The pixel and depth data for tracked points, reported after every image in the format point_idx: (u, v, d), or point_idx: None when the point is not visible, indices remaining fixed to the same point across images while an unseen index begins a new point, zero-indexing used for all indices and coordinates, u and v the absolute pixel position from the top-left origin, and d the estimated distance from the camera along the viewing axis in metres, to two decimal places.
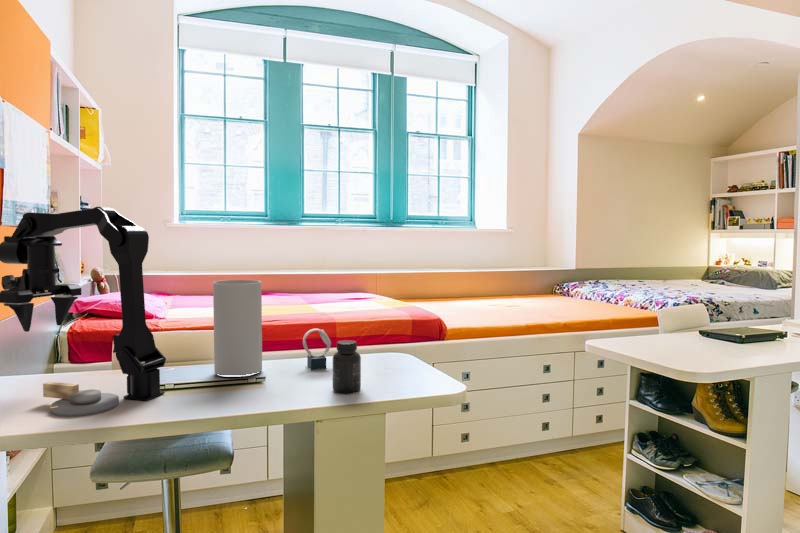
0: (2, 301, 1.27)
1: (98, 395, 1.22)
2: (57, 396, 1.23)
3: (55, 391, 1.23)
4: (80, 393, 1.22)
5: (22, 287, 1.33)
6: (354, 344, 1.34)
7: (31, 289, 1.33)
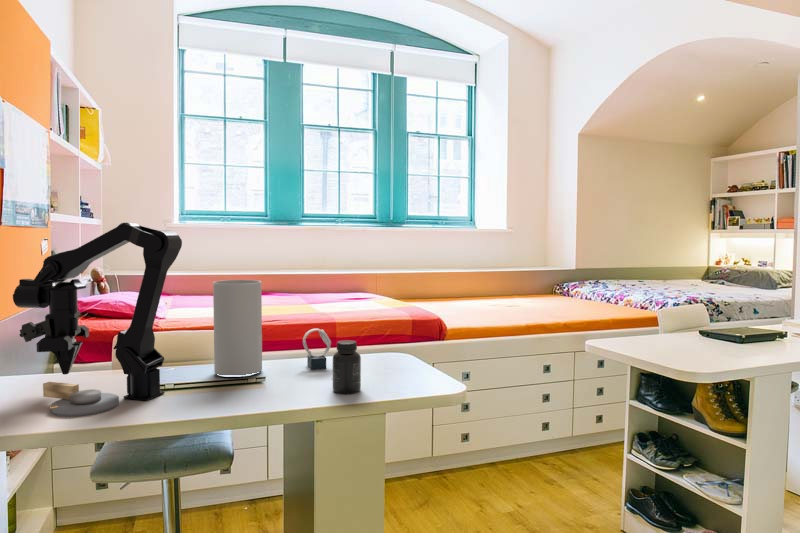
0: (45, 350, 1.22)
1: (98, 395, 1.22)
2: (57, 396, 1.23)
3: (55, 391, 1.23)
4: (80, 393, 1.22)
5: (47, 333, 1.27)
6: (354, 344, 1.34)
7: (60, 335, 1.28)
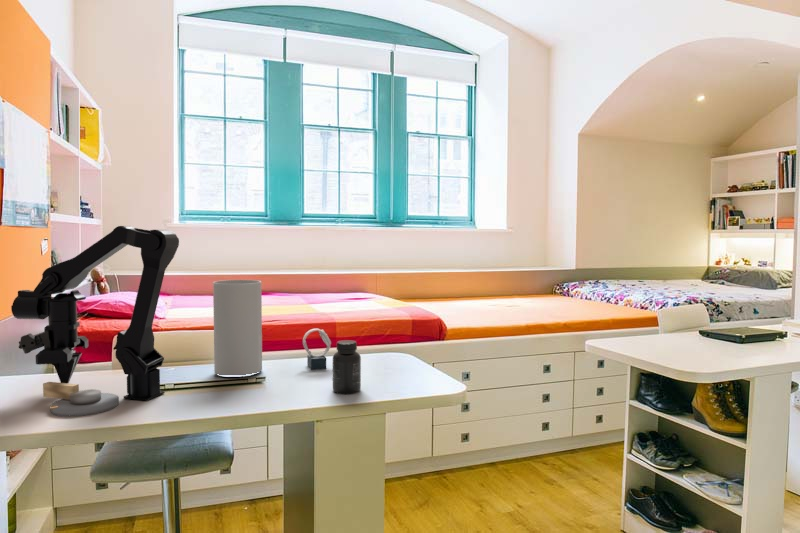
0: (44, 362, 1.21)
1: (98, 395, 1.22)
2: (57, 396, 1.23)
3: (55, 391, 1.23)
4: (80, 393, 1.22)
5: (46, 345, 1.27)
6: (354, 344, 1.34)
7: (59, 346, 1.28)
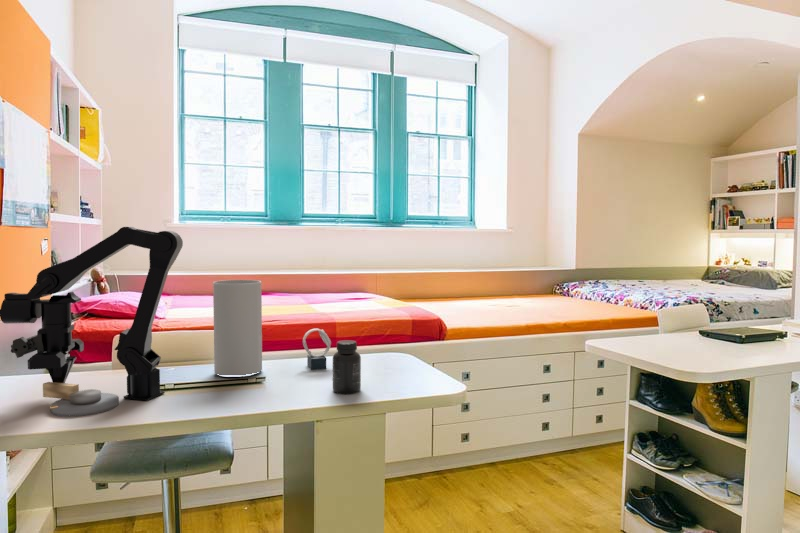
0: (36, 367, 1.17)
1: (98, 395, 1.22)
2: (57, 396, 1.23)
3: (55, 391, 1.23)
4: (80, 393, 1.22)
5: (39, 349, 1.23)
6: (354, 344, 1.34)
7: (52, 350, 1.24)
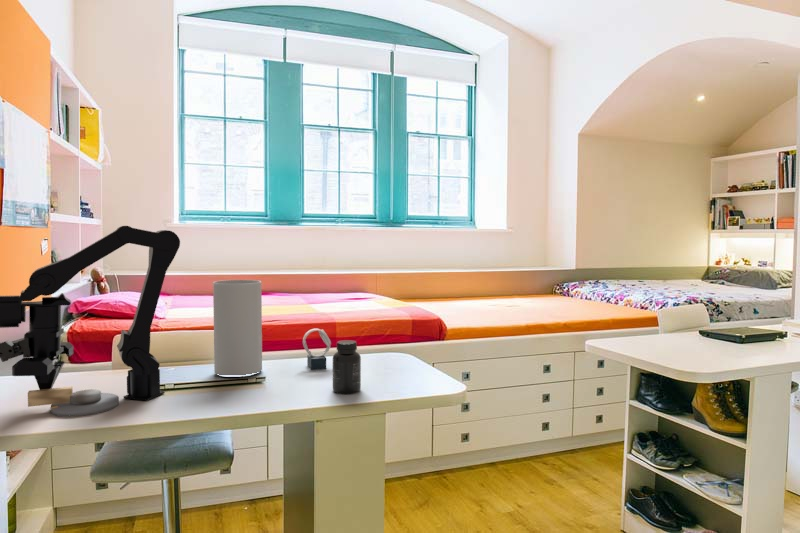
0: (21, 374, 1.11)
1: (100, 392, 1.24)
2: (49, 402, 1.19)
3: (46, 397, 1.18)
4: (80, 394, 1.22)
5: (25, 354, 1.16)
6: (354, 344, 1.34)
7: (39, 355, 1.17)
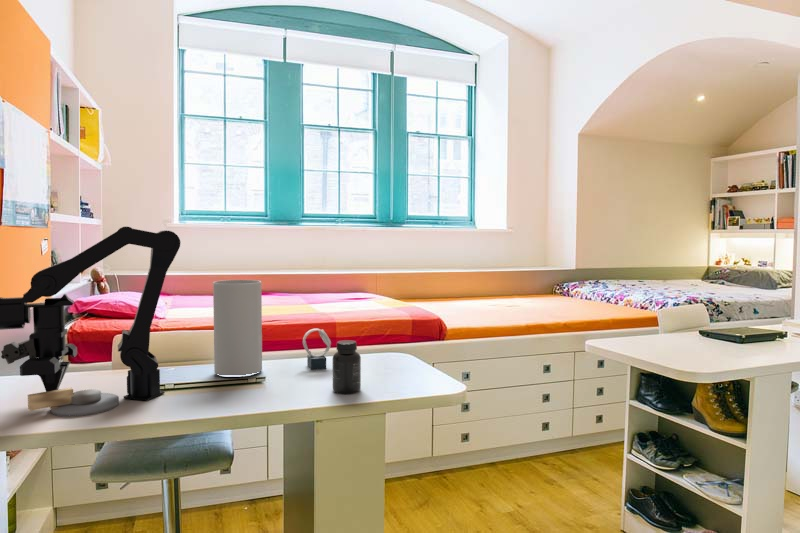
0: (29, 373, 1.12)
1: None
2: (51, 404, 1.17)
3: (48, 400, 1.17)
4: (81, 394, 1.21)
5: (31, 354, 1.18)
6: (354, 344, 1.34)
7: (45, 356, 1.19)
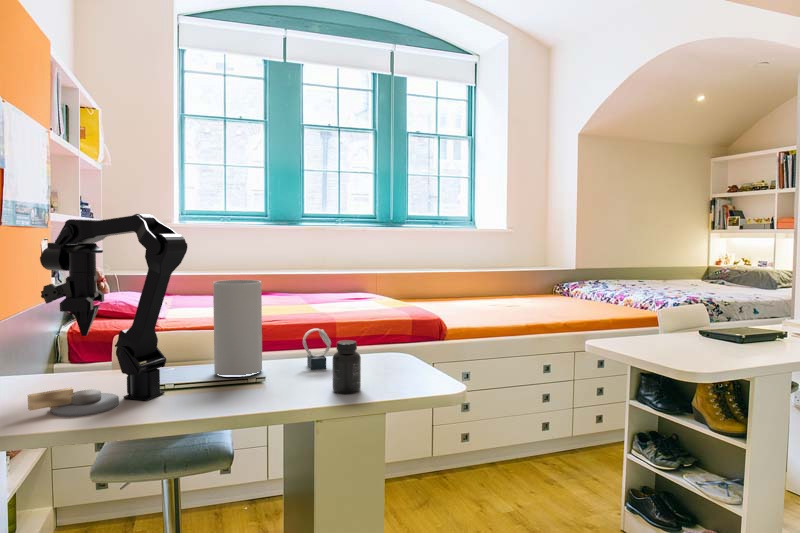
0: (68, 309, 1.25)
1: None
2: (51, 404, 1.17)
3: (48, 400, 1.17)
4: (81, 394, 1.21)
5: (67, 295, 1.31)
6: (354, 344, 1.34)
7: (80, 297, 1.32)
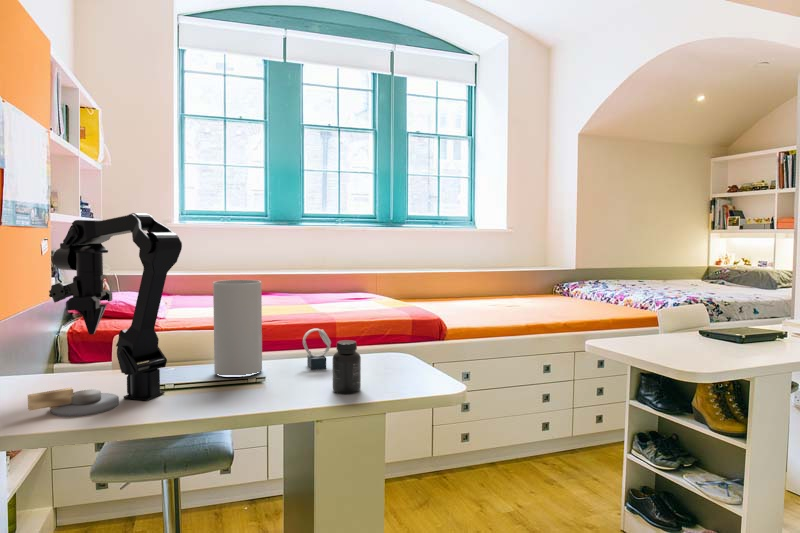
0: (74, 308, 1.28)
1: None
2: (51, 404, 1.17)
3: (48, 400, 1.17)
4: (81, 394, 1.21)
5: (75, 294, 1.34)
6: (354, 344, 1.34)
7: (87, 296, 1.34)
